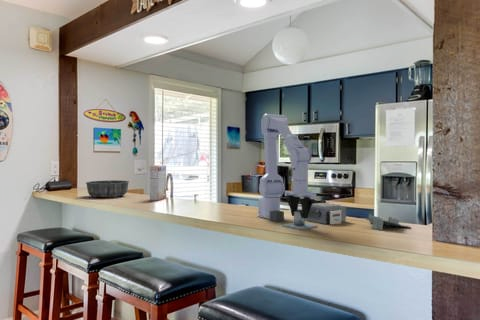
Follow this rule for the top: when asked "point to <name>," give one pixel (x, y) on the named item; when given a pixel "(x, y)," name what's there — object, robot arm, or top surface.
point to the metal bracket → (383, 222)
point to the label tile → (335, 217)
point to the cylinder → (298, 218)
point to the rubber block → (276, 216)
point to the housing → (325, 212)
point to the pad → (300, 226)
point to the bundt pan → (107, 188)
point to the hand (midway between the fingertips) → (299, 216)
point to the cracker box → (157, 182)
